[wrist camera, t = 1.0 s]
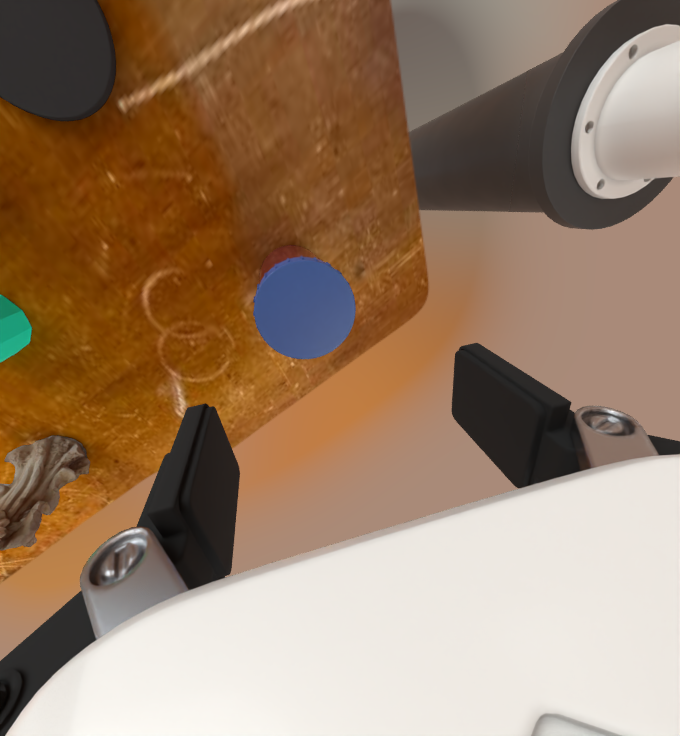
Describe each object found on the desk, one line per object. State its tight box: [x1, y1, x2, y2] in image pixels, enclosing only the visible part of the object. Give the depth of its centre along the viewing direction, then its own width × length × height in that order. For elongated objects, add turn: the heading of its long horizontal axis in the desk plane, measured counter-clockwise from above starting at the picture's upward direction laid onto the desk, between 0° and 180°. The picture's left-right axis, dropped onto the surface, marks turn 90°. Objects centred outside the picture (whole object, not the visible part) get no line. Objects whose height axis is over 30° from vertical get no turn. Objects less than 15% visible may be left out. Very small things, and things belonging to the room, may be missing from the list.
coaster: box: [0, 0, 116, 121], centre depth 19 cm, size 9×9×1 cm
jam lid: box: [253, 256, 355, 359], centre depth 21 cm, size 7×7×2 cm
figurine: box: [0, 436, 90, 551], centre depth 26 cm, size 7×6×15 cm
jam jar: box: [259, 245, 320, 284], centre depth 25 cm, size 6×6×10 cm
